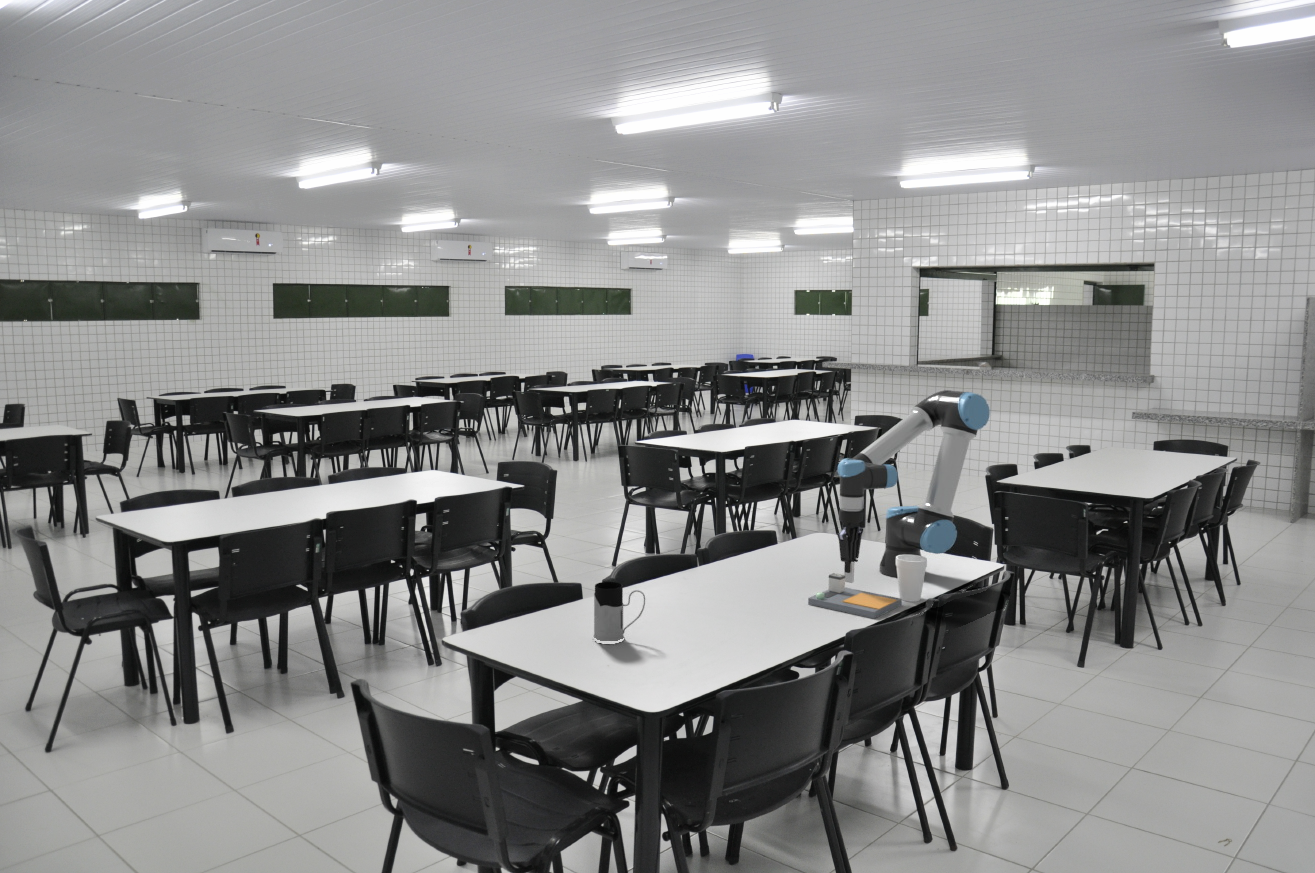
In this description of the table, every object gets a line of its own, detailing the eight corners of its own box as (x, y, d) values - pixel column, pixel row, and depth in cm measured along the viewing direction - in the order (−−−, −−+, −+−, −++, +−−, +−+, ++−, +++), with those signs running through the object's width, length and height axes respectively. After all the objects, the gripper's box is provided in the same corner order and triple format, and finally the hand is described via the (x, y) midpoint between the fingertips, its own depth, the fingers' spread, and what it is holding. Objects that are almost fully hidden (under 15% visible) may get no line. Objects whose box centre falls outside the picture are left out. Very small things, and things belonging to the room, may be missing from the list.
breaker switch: (833, 588, 304) (833, 573, 303) (844, 590, 301) (845, 575, 301) (828, 590, 302) (828, 575, 301) (839, 593, 299) (840, 577, 298)
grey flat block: (837, 591, 308) (837, 581, 308) (901, 604, 294) (901, 593, 294) (808, 604, 295) (808, 593, 294) (873, 618, 281) (874, 606, 280)
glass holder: (594, 633, 266) (594, 580, 264) (645, 634, 265) (645, 581, 263) (590, 644, 257) (590, 589, 255) (644, 645, 256) (644, 590, 255)
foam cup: (926, 603, 296) (927, 562, 294) (895, 602, 297) (896, 560, 296) (924, 595, 305) (925, 555, 303) (893, 593, 307) (895, 553, 305)
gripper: (850, 504, 312) (848, 575, 315) (830, 510, 302) (828, 583, 305) (871, 507, 307) (869, 579, 310) (851, 513, 297) (849, 588, 300)
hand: (848, 581), depth 307 cm, fingers closed
